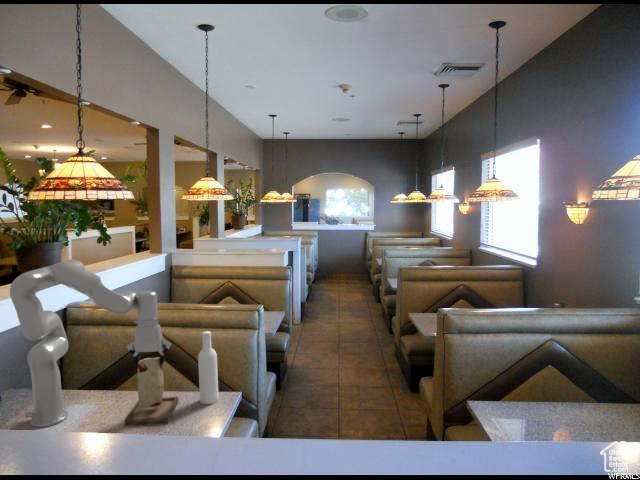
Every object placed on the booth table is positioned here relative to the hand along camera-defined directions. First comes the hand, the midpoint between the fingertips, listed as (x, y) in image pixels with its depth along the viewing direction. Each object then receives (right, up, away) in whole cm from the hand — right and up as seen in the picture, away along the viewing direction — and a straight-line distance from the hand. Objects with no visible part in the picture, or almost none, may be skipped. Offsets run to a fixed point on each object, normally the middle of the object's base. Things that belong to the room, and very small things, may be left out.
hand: (150, 364), depth 176 cm
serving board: (+1, -20, +2) cm, 20 cm away
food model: (0, -17, +1) cm, 17 cm away
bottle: (+21, -19, +13) cm, 31 cm away
